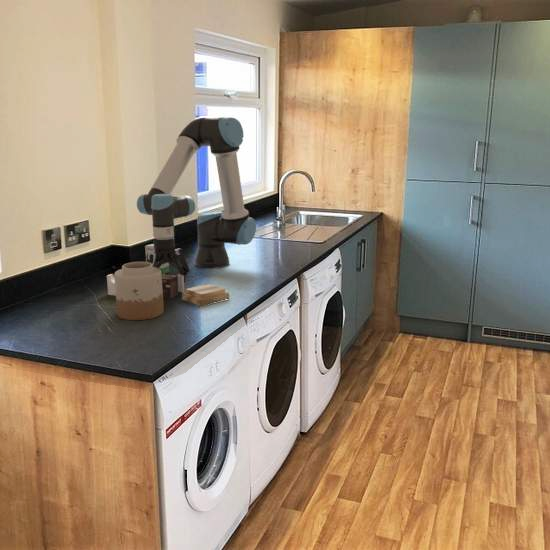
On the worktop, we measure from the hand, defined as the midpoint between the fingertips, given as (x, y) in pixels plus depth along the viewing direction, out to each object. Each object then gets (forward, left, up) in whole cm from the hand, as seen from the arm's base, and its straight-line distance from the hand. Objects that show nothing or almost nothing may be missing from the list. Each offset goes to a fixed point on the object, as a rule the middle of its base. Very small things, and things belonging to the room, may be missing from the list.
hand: (167, 295), depth 224 cm
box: (0, 0, 0) cm, 0 cm away
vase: (+11, -18, 0) cm, 21 cm away
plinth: (+14, +7, 0) cm, 16 cm away
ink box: (-32, +17, 0) cm, 36 cm away
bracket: (-17, -7, -1) cm, 18 cm away
